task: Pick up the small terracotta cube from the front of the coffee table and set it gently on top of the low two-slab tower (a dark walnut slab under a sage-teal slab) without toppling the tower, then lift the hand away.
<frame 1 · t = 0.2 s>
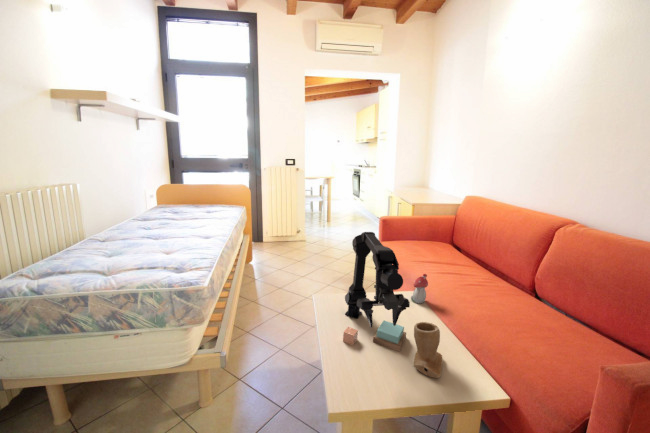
hand: (382, 326, 111), 15 cm above the table, tool pointing down, fingers open, 9 cm apart
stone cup: (425, 364, 116), on the table
tower base: (389, 341, 129), on the table, touching tower top
decorative ornament: (418, 301, 165), on the table
tower top: (390, 334, 129), point 2 cm above the table, touching tower base
terracotta cube: (349, 340, 127), on the table
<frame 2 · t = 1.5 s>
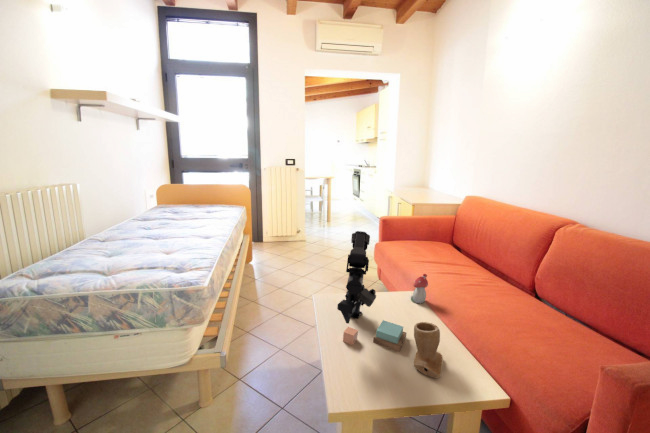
hand: (352, 318, 125), 10 cm above the table, tool pointing down, fingers open, 9 cm apart
tower base: (389, 341, 129), on the table
tower top: (389, 334, 128), point 2 cm above the table
everything else where it was.
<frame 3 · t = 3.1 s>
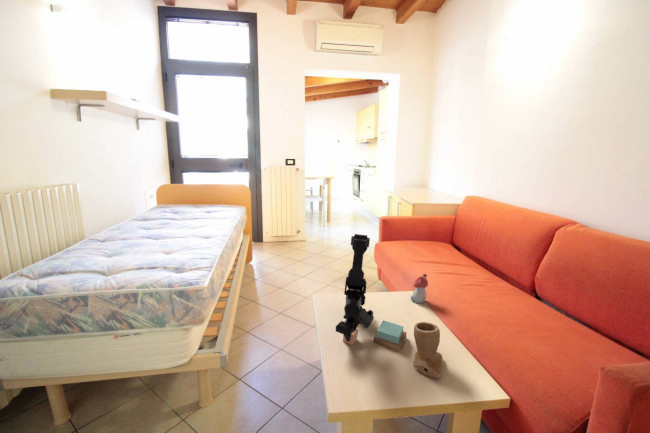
hand: (350, 338, 127), 1 cm above the table, tool pointing down, fingers closed on terracotta cube, 4 cm apart
terracotta cube: (350, 340, 127), on the table, touching gripper
everything else where it was.
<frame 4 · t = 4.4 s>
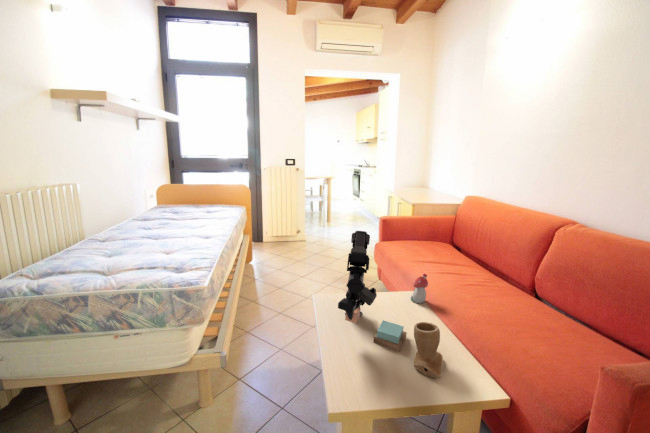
hand: (352, 316, 124), 11 cm above the table, tool pointing down, fingers closed on terracotta cube, 4 cm apart
tower base: (389, 340, 129), on the table, touching tower top
tower top: (389, 334, 128), point 2 cm above the table, touching tower base
terracotta cube: (352, 319, 125), point 10 cm above the table, touching gripper
everything else where it was.
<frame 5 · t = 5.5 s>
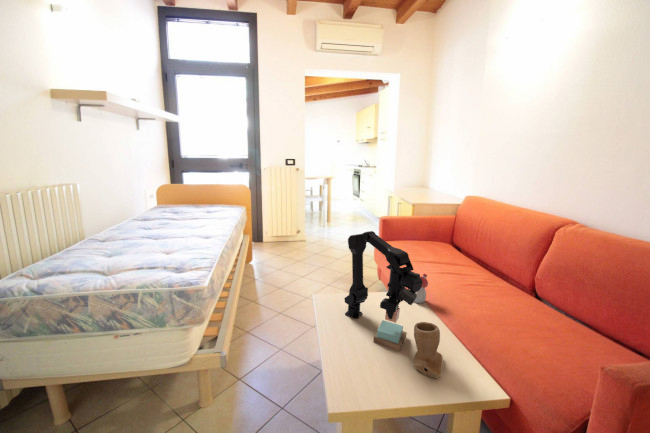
hand: (392, 316, 127), 11 cm above the table, tool pointing down, fingers closed on terracotta cube, 4 cm apart
terracotta cube: (391, 318, 127), point 10 cm above the table, touching gripper
everything else where it was.
when the fingers open (8 cm above the table, at t = 6.5 s): terracotta cube drops 2 cm, resting on tower top.
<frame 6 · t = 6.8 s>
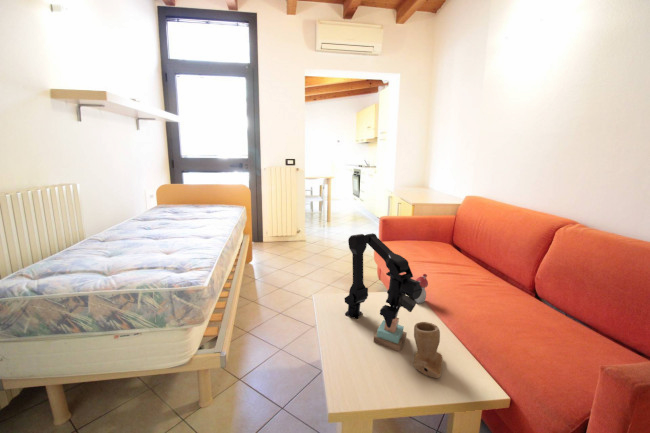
hand: (391, 322, 127), 8 cm above the table, tool pointing down, fingers open, 8 cm apart
tower top: (389, 334, 129), point 2 cm above the table, touching terracotta cube, tower base
terracotta cube: (390, 328, 128), point 5 cm above the table, touching tower top
everything else where it was.
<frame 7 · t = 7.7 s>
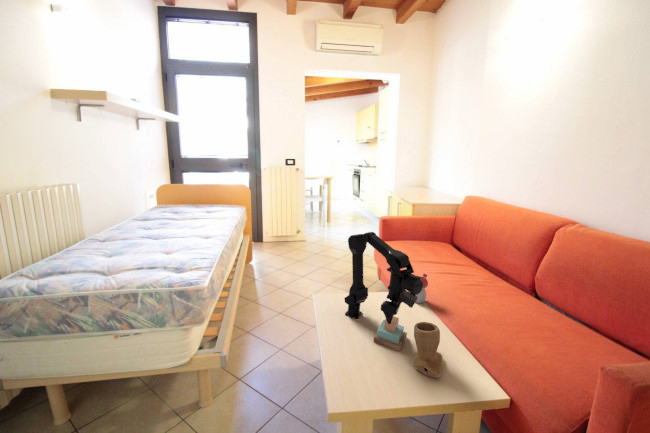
hand: (392, 318, 127), 10 cm above the table, tool pointing down, fingers open, 9 cm apart
nothing on the table moved.
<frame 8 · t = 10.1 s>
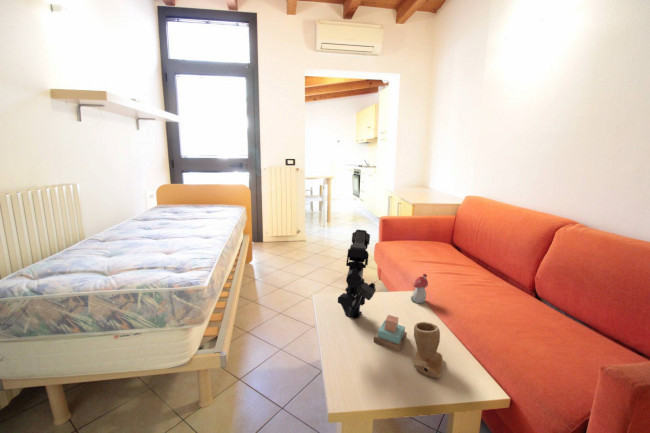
hand: (352, 311, 126), 12 cm above the table, tool pointing down, fingers open, 9 cm apart
tower top: (391, 334, 128), point 2 cm above the table, touching tower base
terracotta cube: (391, 328, 128), point 5 cm above the table
everything else where it was.
at the end: terracotta cube 0.5 cm from the tower top (horizontally); terracotta cube point 5.3 cm above the table; tower top 0.2 cm off-centre on the tower base, point 3.0 cm above the tower base's base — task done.
